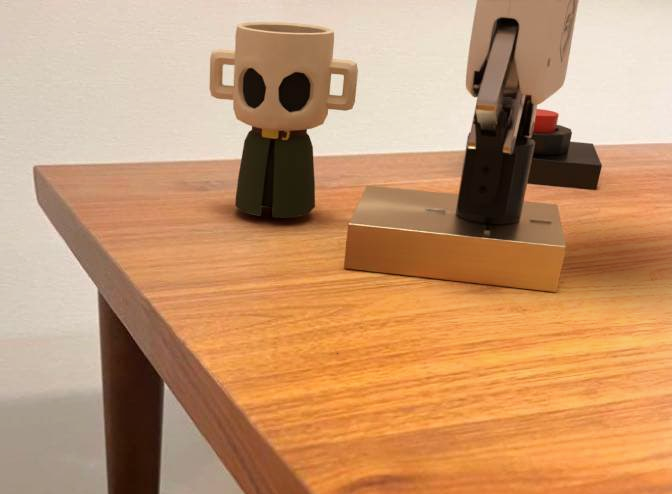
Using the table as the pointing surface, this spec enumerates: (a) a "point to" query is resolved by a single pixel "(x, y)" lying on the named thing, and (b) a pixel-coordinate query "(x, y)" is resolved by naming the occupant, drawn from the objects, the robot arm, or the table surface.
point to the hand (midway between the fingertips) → (490, 202)
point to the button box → (563, 161)
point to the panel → (453, 241)
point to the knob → (519, 184)
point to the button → (545, 121)
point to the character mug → (280, 109)
